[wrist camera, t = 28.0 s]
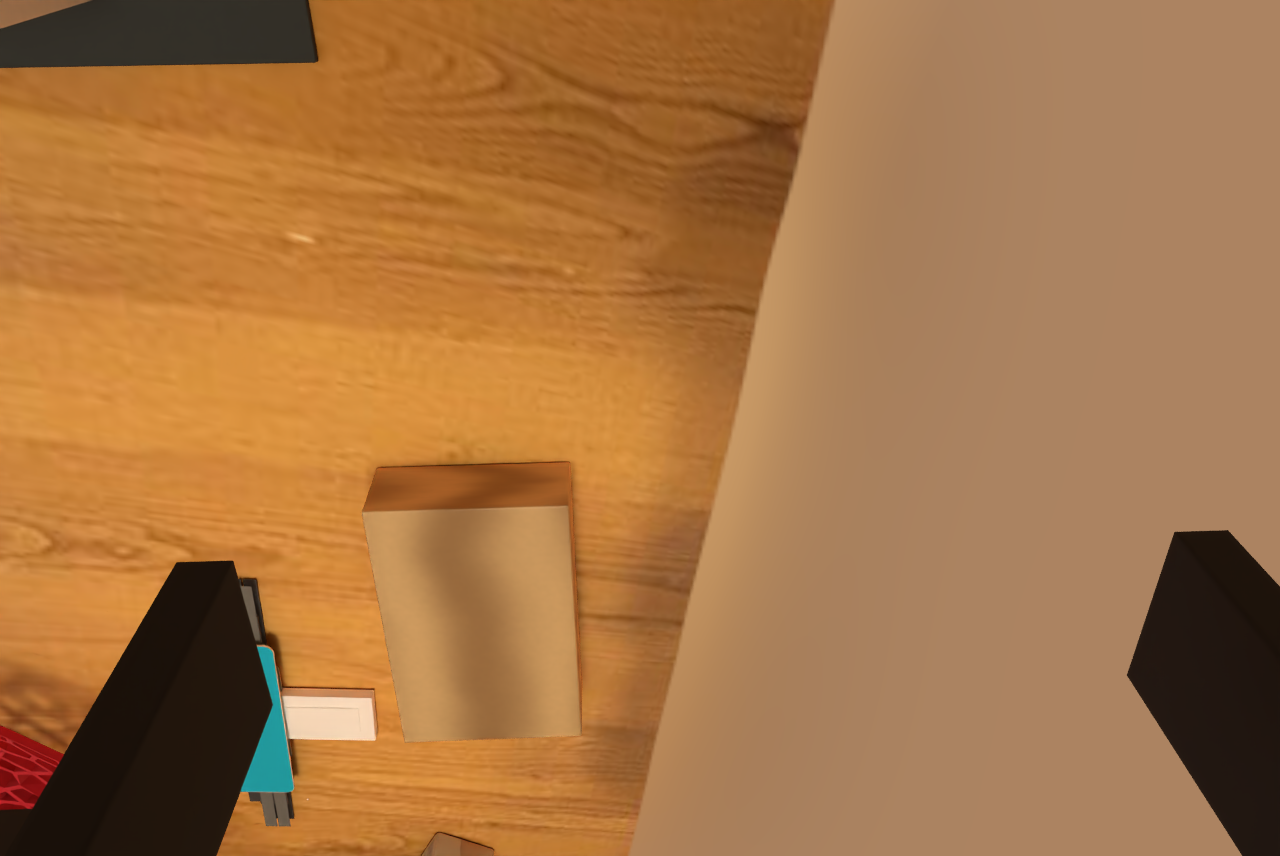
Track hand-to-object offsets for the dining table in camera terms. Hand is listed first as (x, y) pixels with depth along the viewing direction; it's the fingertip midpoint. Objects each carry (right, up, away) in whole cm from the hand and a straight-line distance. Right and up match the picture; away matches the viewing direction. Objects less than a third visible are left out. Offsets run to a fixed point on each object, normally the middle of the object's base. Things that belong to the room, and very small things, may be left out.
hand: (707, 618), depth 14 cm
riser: (-9, -6, +41) cm, 43 cm away
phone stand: (-23, -14, +45) cm, 53 cm away
